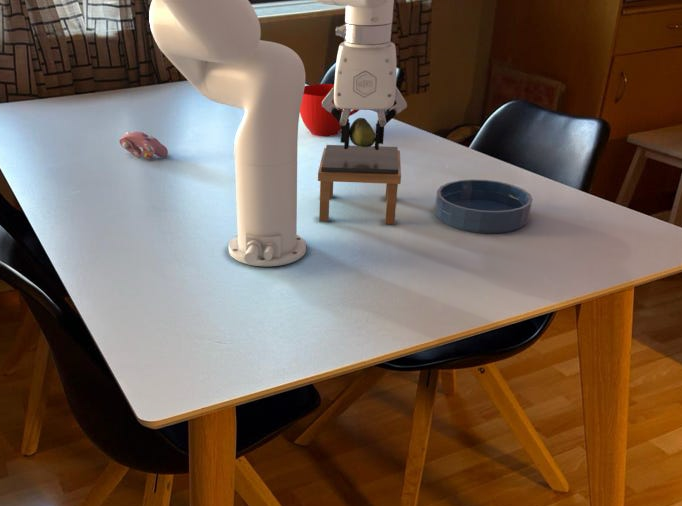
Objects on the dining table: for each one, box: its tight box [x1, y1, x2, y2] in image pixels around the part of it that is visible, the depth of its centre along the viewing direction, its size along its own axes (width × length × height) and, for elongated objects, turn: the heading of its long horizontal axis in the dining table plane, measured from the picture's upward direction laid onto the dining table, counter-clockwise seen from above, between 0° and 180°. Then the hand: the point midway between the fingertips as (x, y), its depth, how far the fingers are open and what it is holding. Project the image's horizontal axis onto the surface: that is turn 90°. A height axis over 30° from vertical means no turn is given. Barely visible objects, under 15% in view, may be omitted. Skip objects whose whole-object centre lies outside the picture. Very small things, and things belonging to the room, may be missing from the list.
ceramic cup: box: [299, 83, 360, 138], centre depth 172 cm, size 13×17×10 cm
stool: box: [317, 144, 402, 225], centre depth 130 cm, size 14×14×10 cm
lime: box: [349, 117, 376, 147], centre depth 125 cm, size 4×5×5 cm
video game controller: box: [119, 131, 169, 160], centre depth 158 cm, size 10×5×7 cm, turn 62°
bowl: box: [434, 178, 533, 234], centre depth 128 cm, size 16×16×4 cm
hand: (361, 146), depth 126 cm, fingers closed on lime, 4 cm apart
